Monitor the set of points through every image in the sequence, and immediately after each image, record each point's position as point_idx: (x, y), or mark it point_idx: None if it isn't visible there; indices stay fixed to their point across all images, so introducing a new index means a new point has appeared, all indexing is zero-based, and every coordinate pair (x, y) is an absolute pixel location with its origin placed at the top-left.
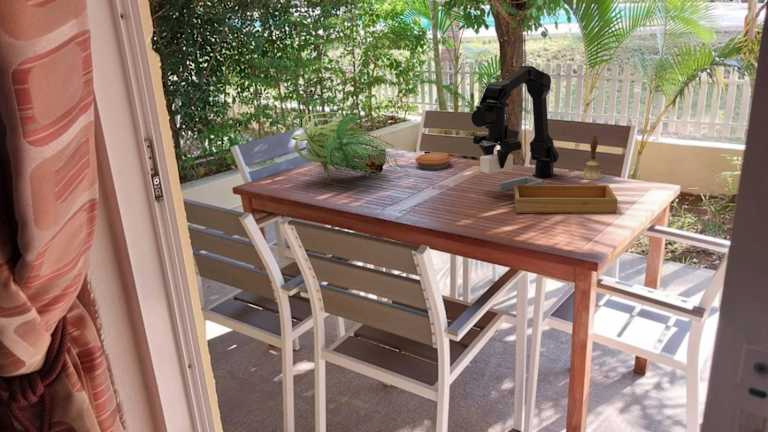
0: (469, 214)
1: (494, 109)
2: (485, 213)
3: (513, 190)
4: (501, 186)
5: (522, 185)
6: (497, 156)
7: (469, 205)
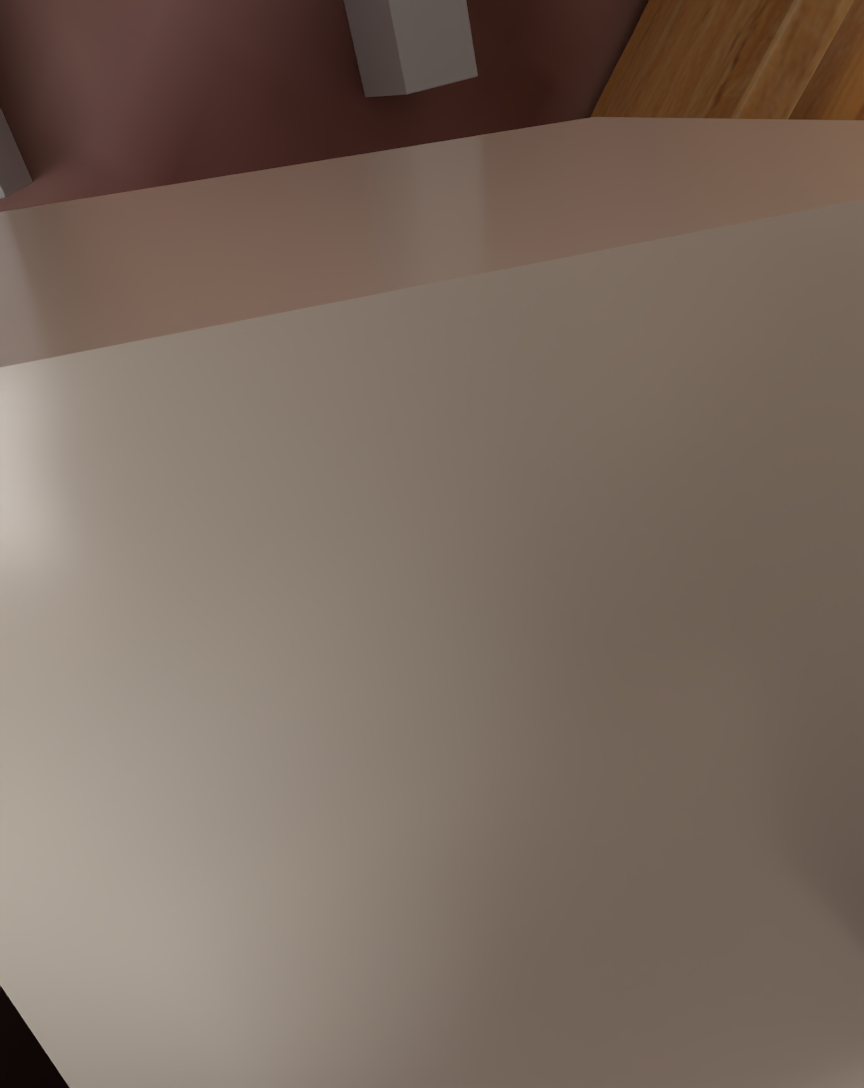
0: None
1: None
2: None
3: (391, 95)
4: (15, 190)
5: (800, 77)
6: (757, 1078)
7: None
